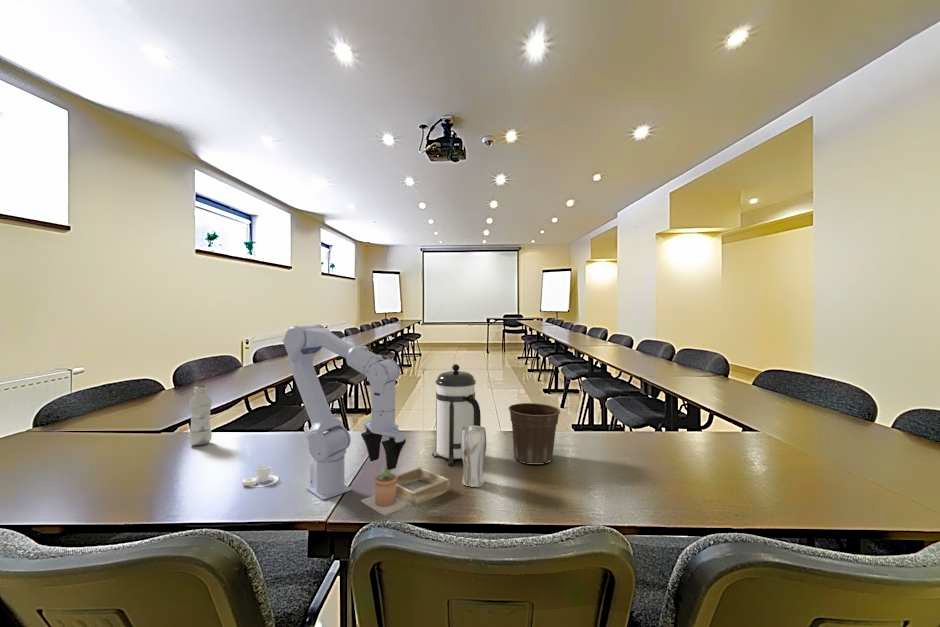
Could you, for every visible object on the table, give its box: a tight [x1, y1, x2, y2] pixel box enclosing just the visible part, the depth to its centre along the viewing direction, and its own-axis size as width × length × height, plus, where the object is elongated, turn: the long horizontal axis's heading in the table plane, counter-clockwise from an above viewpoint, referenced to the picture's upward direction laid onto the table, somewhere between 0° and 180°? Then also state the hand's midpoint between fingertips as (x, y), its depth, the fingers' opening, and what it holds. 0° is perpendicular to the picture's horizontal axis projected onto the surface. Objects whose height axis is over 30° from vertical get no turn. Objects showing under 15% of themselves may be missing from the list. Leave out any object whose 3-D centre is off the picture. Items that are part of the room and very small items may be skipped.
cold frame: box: [396, 466, 450, 507], centre depth 109 cm, size 12×12×3 cm
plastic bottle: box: [188, 385, 213, 446], centre depth 144 cm, size 6×7×20 cm
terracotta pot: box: [373, 466, 398, 507], centre depth 102 cm, size 6×6×8 cm
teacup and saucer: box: [241, 465, 280, 488], centre depth 114 cm, size 9×8×4 cm
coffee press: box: [431, 363, 482, 466], centre depth 133 cm, size 17×16×30 cm
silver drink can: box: [461, 425, 487, 487], centre depth 114 cm, size 7×7×15 cm
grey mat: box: [360, 494, 406, 517], centre depth 102 cm, size 10×6×1 cm, turn 46°
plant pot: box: [508, 402, 561, 464], centre depth 133 cm, size 16×16×16 cm
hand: (382, 464), depth 103 cm, fingers open, 7 cm apart
